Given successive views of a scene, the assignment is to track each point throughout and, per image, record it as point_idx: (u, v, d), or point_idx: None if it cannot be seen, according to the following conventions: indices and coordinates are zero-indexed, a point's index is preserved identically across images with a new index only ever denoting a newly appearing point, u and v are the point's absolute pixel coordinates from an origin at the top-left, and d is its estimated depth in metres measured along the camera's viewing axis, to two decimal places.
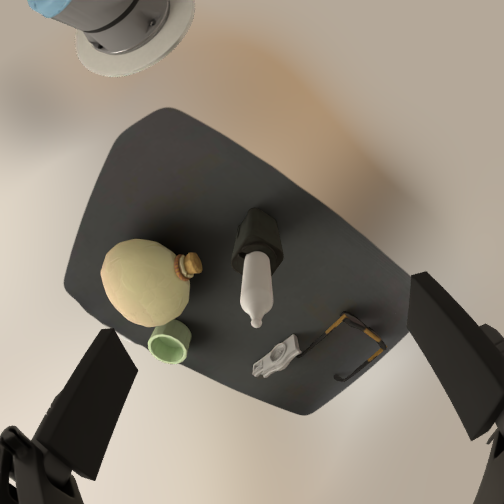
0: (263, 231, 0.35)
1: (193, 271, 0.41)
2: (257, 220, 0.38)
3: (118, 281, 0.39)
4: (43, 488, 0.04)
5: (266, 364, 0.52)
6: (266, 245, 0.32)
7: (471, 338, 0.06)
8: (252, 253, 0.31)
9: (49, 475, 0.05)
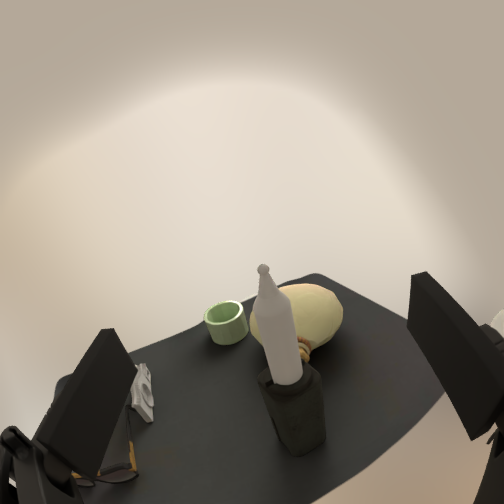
0: (312, 406, 0.24)
1: None
2: (320, 418, 0.26)
3: (312, 291, 0.45)
4: (43, 488, 0.04)
5: (144, 378, 0.41)
6: (303, 387, 0.23)
7: (471, 338, 0.06)
8: (302, 369, 0.24)
9: (49, 475, 0.05)
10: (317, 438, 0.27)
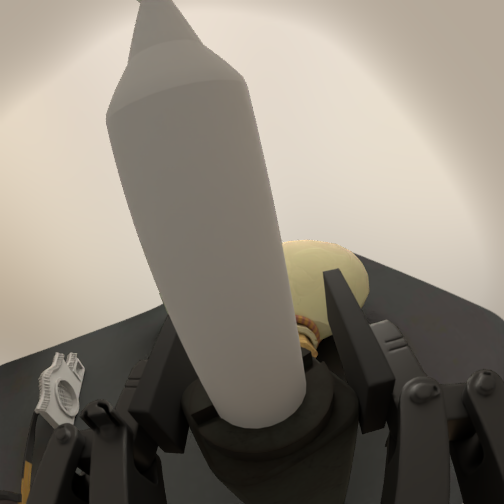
0: (329, 473, 0.07)
1: None
2: (343, 483, 0.09)
3: (319, 246, 0.28)
4: (128, 478, 0.05)
5: (68, 373, 0.25)
6: (307, 439, 0.06)
7: (353, 331, 0.08)
8: (304, 380, 0.07)
9: (134, 457, 0.06)
10: None
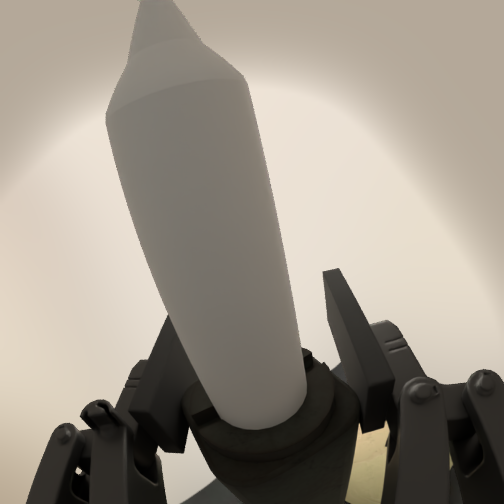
0: (329, 474, 0.07)
1: None
2: (343, 484, 0.09)
3: None
4: (128, 478, 0.05)
5: None
6: (307, 441, 0.06)
7: (353, 331, 0.08)
8: (305, 380, 0.07)
9: (134, 457, 0.06)
10: None
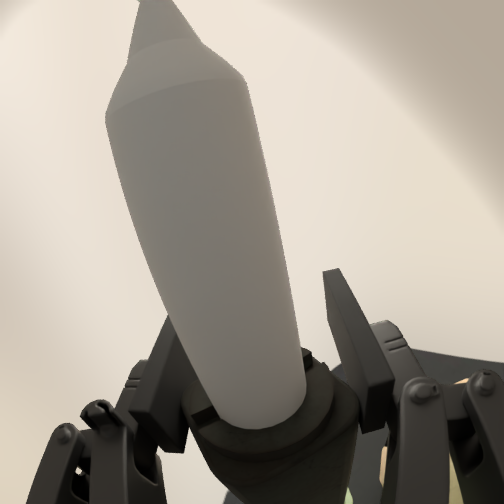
0: (329, 474, 0.07)
1: None
2: (343, 484, 0.09)
3: None
4: (128, 478, 0.05)
5: None
6: (307, 440, 0.06)
7: (353, 331, 0.08)
8: (304, 380, 0.07)
9: (134, 457, 0.06)
10: None
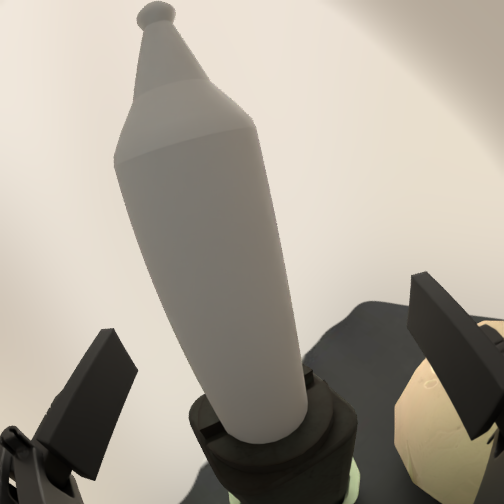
0: (328, 481, 0.08)
1: None
2: (341, 489, 0.09)
3: None
4: (43, 488, 0.04)
5: None
6: (308, 454, 0.07)
7: (471, 338, 0.06)
8: (306, 399, 0.08)
9: (49, 475, 0.05)
10: None
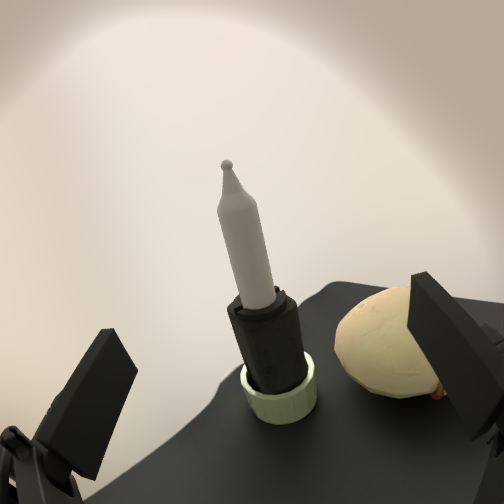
0: (288, 342, 0.23)
1: None
2: (300, 363, 0.25)
3: None
4: (43, 488, 0.04)
5: None
6: (275, 312, 0.22)
7: (471, 338, 0.06)
8: (275, 293, 0.23)
9: (49, 475, 0.05)
10: None
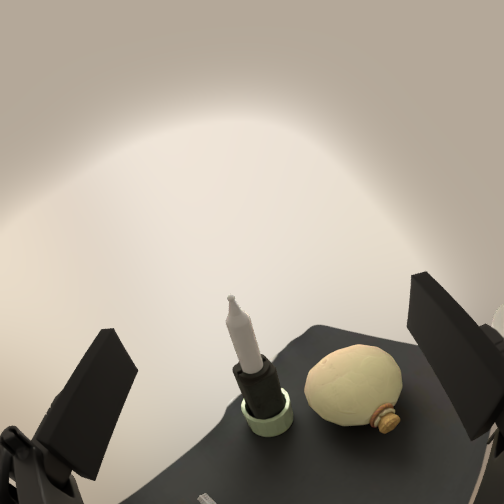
0: (271, 390, 0.35)
1: (386, 420, 0.29)
2: (279, 401, 0.37)
3: (367, 354, 0.39)
4: (43, 488, 0.04)
5: None
6: (262, 376, 0.34)
7: (471, 338, 0.06)
8: (262, 363, 0.35)
9: (49, 475, 0.05)
10: None
